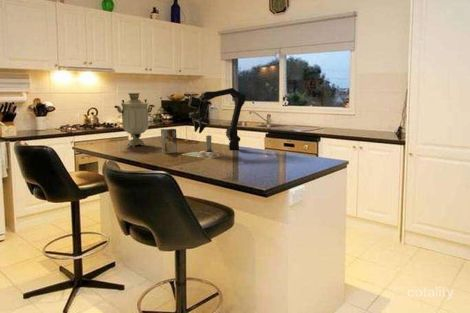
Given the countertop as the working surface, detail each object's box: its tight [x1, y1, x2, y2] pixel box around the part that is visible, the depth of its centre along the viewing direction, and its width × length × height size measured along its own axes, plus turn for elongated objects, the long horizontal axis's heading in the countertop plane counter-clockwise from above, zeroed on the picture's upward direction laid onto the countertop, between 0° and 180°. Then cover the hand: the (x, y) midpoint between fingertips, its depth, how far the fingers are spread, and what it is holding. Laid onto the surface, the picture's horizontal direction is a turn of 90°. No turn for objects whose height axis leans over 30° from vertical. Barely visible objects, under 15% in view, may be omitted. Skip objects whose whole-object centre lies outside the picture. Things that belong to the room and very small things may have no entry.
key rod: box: [205, 134, 213, 152], centre depth 251 cm, size 3×3×13 cm
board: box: [181, 149, 222, 159], centre depth 256 cm, size 26×12×4 cm, turn 51°
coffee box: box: [160, 128, 178, 154], centre depth 273 cm, size 9×6×16 cm
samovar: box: [113, 92, 156, 148], centre depth 307 cm, size 30×26×40 cm
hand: (197, 132), depth 269 cm, fingers open, 9 cm apart
